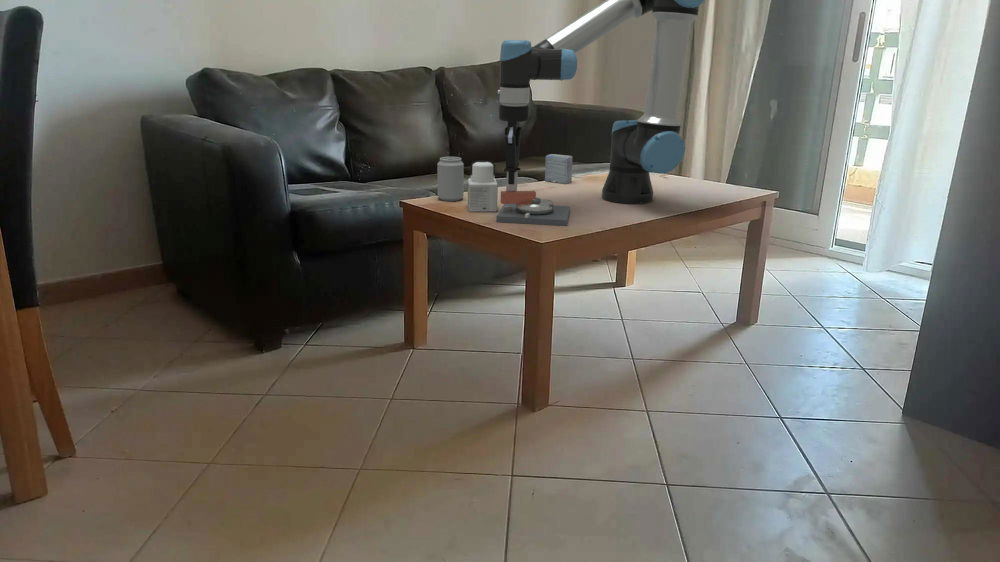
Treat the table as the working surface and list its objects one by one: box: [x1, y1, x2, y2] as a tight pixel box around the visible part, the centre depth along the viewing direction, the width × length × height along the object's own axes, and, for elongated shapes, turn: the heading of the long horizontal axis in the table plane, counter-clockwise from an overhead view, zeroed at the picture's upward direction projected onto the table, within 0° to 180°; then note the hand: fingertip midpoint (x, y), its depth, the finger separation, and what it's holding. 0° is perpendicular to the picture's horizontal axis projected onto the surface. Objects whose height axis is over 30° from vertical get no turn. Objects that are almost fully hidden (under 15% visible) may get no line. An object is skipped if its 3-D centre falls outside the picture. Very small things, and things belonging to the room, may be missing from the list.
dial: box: [500, 190, 555, 214], centre depth 189 cm, size 14×10×5 cm
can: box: [436, 156, 465, 202], centre depth 208 cm, size 8×8×12 cm
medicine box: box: [544, 153, 574, 185], centre depth 236 cm, size 8×4×9 cm, turn 59°
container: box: [467, 160, 499, 213], centre depth 197 cm, size 8×8×13 cm
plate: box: [495, 204, 571, 227], centre depth 191 cm, size 18×16×2 cm
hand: (511, 195), depth 190 cm, fingers closed
